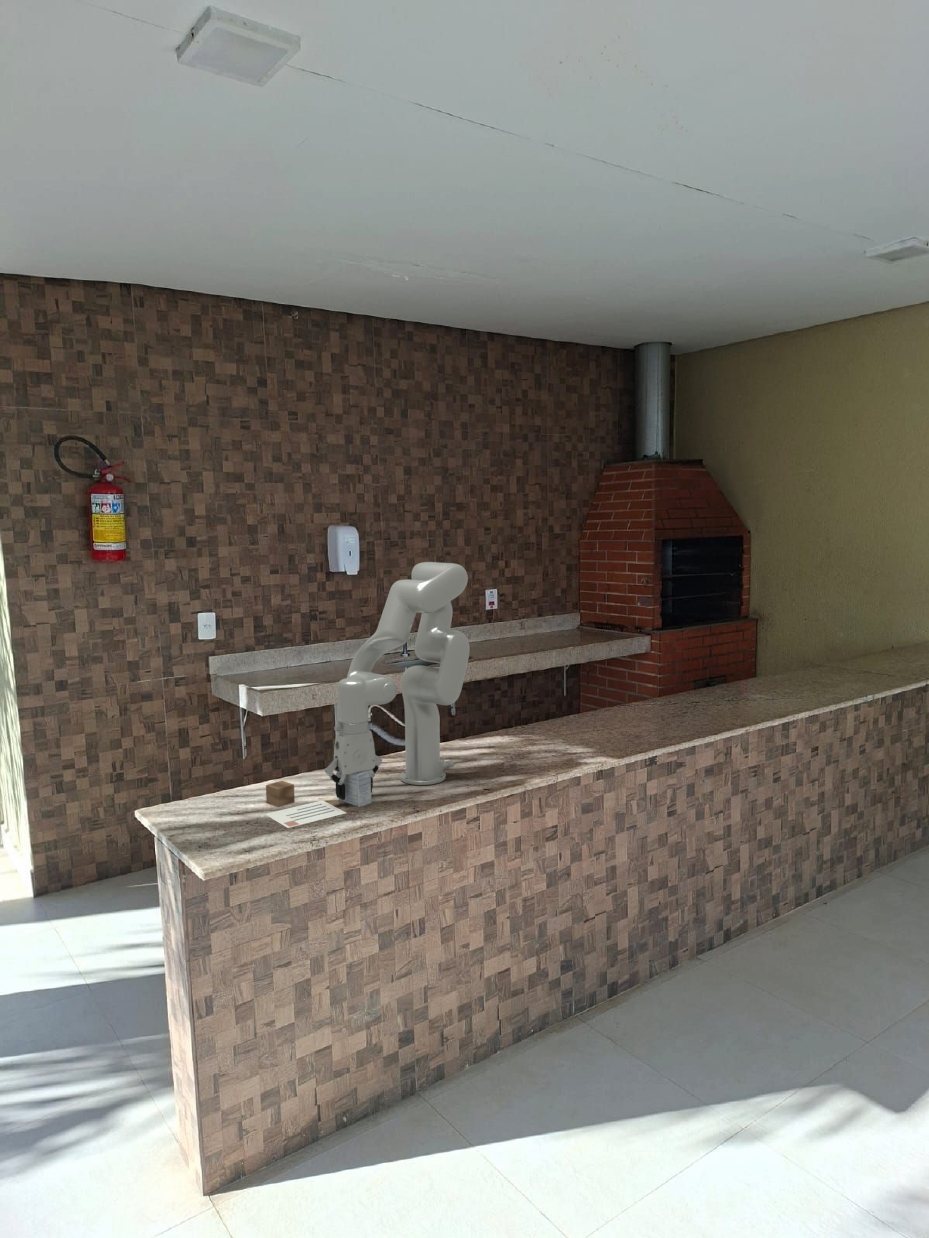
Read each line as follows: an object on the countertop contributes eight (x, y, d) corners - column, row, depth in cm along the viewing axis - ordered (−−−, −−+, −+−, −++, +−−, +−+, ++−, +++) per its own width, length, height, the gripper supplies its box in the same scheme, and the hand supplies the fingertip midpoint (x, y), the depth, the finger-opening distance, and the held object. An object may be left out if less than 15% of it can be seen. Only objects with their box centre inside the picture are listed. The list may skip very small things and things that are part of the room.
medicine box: (371, 803, 222) (371, 770, 221) (358, 808, 219) (357, 774, 218) (351, 797, 227) (350, 764, 226) (338, 801, 224) (337, 768, 223)
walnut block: (282, 799, 226) (281, 780, 225) (294, 803, 223) (294, 784, 222) (266, 804, 222) (265, 785, 222) (278, 808, 219) (278, 789, 218)
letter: (322, 801, 224) (322, 800, 224) (346, 814, 215) (346, 812, 215) (264, 815, 214) (264, 813, 214) (287, 829, 205) (287, 827, 205)
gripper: (330, 735, 212) (332, 806, 214) (390, 724, 223) (391, 791, 225) (315, 729, 218) (317, 798, 220) (374, 719, 229) (375, 784, 231)
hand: (354, 794), depth 223 cm, fingers open, 7 cm apart
